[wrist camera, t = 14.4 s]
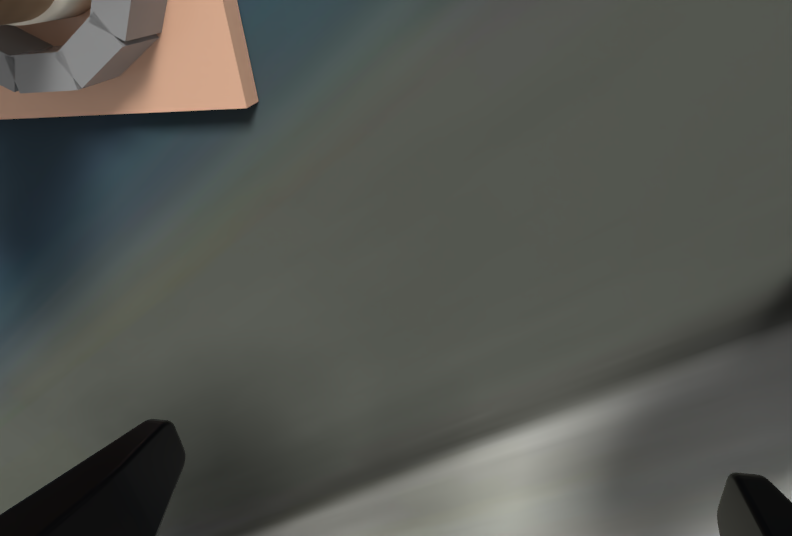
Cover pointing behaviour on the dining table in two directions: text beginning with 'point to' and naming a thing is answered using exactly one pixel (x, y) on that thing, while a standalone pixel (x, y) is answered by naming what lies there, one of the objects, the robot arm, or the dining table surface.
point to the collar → (127, 61)
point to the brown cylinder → (40, 10)
